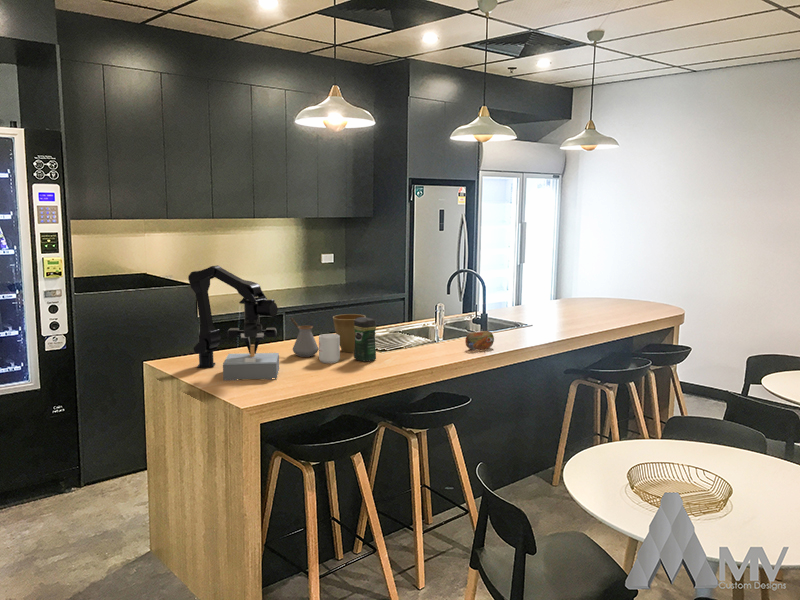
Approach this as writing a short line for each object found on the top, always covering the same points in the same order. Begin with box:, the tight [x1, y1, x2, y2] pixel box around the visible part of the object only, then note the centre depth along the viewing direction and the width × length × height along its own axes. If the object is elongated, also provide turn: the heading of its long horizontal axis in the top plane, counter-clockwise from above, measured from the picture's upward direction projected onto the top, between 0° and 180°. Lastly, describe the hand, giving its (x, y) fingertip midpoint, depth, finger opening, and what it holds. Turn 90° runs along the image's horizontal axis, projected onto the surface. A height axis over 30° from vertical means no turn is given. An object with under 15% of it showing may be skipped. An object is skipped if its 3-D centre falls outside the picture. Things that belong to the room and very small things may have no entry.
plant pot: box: [332, 313, 366, 353], centre depth 298 cm, size 15×15×16 cm
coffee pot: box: [287, 317, 319, 358], centre depth 292 cm, size 21×12×15 cm, turn 34°
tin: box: [464, 330, 495, 351], centre depth 305 cm, size 15×3×8 cm, turn 118°
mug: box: [318, 333, 341, 364], centre depth 279 cm, size 12×9×11 cm
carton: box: [222, 355, 280, 381], centre depth 255 cm, size 16×20×6 cm
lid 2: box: [222, 357, 277, 366], centre depth 251 cm, size 8×20×2 cm, turn 97°
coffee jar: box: [353, 316, 377, 362], centre depth 281 cm, size 10×8×19 cm
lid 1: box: [226, 344, 280, 359], centre depth 258 cm, size 8×20×5 cm, turn 97°
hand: (252, 353), depth 258 cm, fingers closed on lid 1, 2 cm apart
